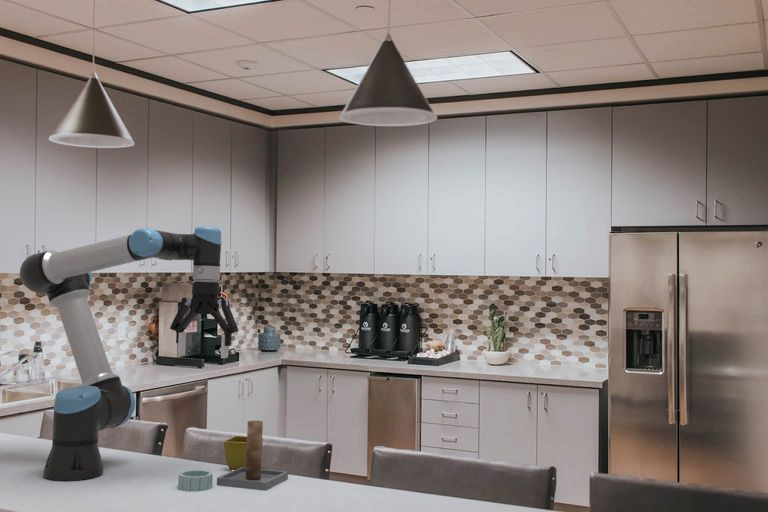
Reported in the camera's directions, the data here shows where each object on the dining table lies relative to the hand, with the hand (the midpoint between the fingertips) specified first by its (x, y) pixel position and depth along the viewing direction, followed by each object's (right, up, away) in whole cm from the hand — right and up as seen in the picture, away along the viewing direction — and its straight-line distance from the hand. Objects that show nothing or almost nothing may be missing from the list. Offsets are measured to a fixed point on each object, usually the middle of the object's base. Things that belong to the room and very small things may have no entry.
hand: (202, 356), depth 217 cm
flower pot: (+10, -34, +4) cm, 36 cm away
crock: (+2, -32, -19) cm, 37 cm away
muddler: (+16, -31, -11) cm, 37 cm away
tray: (+16, -33, -11) cm, 38 cm away
